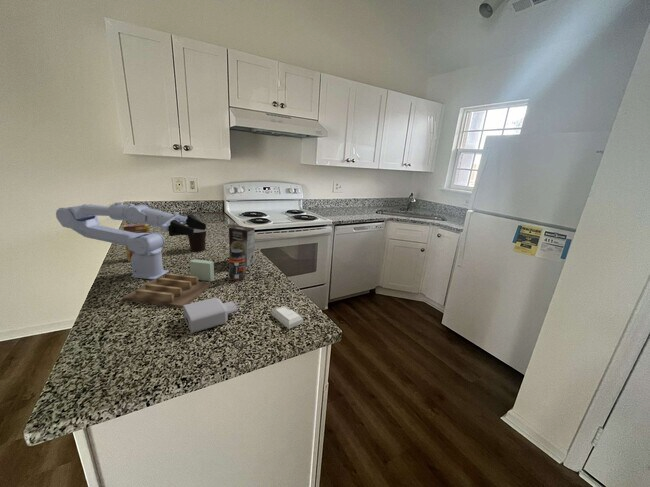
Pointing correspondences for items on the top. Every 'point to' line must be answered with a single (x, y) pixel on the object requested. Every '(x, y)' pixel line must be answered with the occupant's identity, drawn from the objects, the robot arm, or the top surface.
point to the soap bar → (287, 317)
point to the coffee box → (242, 242)
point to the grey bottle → (207, 313)
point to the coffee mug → (197, 240)
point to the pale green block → (202, 269)
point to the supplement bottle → (237, 265)
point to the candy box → (136, 229)
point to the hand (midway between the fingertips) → (199, 229)
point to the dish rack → (168, 291)
